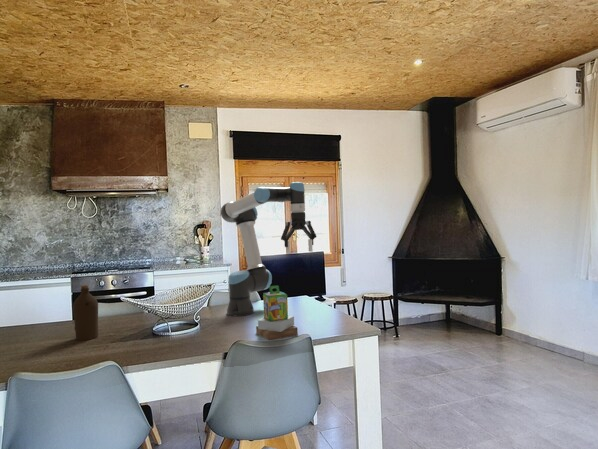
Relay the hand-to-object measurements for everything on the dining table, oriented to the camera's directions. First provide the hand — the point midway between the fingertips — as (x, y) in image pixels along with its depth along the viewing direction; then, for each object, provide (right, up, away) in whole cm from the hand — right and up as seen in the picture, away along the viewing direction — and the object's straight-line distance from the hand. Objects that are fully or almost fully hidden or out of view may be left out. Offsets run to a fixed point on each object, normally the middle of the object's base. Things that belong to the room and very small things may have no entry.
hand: (299, 252), depth 210 cm
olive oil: (-101, -39, -19) cm, 110 cm away
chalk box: (-11, -29, -26) cm, 40 cm away
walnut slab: (-11, -36, -25) cm, 46 cm away
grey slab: (-11, -32, -26) cm, 43 cm away
